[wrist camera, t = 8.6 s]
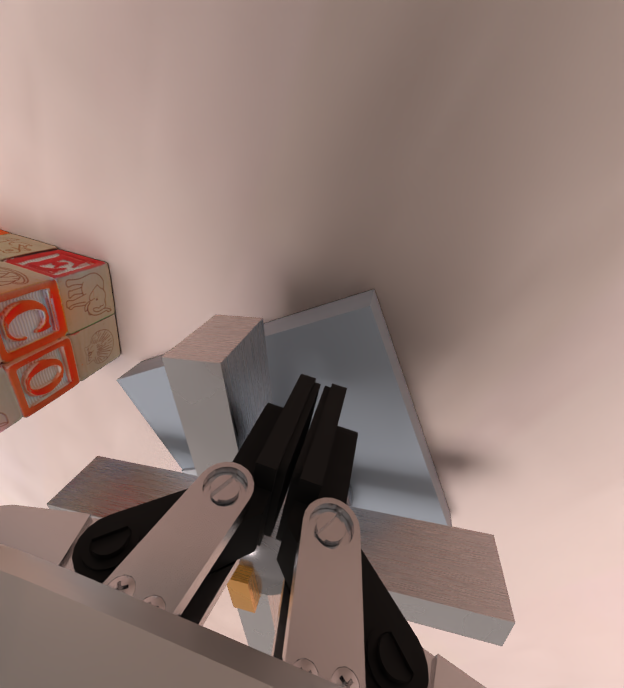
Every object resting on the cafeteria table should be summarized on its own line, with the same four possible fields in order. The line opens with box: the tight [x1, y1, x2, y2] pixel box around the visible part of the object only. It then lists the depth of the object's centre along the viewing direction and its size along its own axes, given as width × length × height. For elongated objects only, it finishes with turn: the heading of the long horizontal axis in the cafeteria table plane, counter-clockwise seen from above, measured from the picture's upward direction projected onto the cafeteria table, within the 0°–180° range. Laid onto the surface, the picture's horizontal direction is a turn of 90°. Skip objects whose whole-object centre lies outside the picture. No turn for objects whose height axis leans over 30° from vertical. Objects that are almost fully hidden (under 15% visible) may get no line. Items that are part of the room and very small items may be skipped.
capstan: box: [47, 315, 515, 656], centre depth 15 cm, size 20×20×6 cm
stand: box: [117, 289, 452, 527], centre depth 19 cm, size 15×15×2 cm
